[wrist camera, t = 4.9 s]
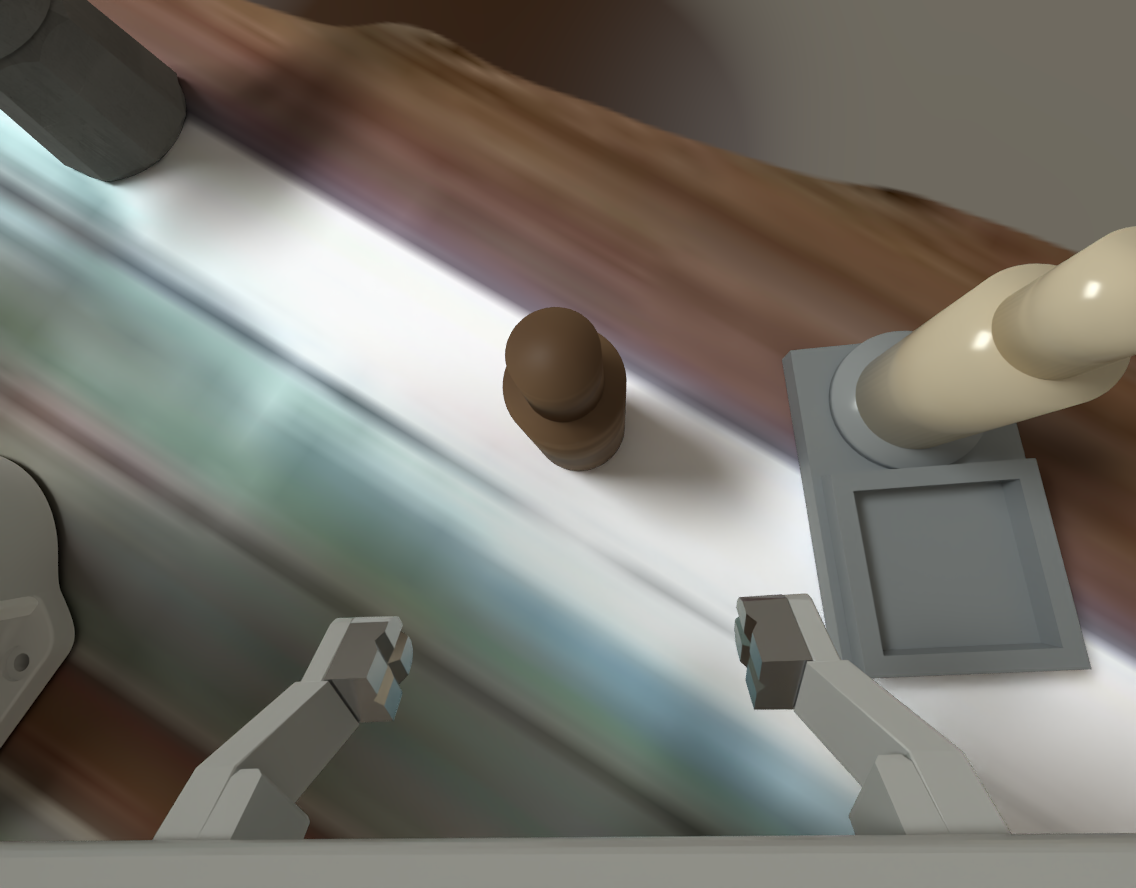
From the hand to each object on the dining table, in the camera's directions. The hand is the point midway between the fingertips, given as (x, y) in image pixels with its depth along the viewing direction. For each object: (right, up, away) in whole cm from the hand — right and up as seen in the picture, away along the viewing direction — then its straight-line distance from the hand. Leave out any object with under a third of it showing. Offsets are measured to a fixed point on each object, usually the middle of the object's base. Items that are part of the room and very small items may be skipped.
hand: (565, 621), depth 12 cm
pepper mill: (+1, +5, +13) cm, 14 cm away
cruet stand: (+16, +2, +11) cm, 19 cm away
